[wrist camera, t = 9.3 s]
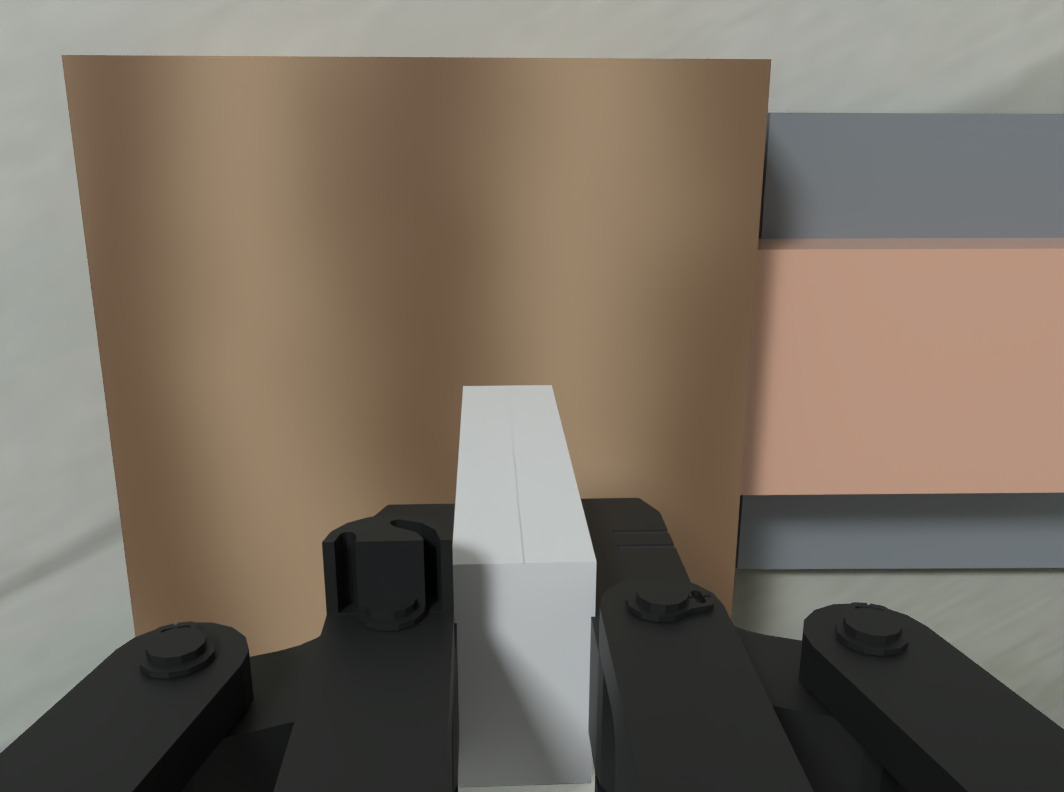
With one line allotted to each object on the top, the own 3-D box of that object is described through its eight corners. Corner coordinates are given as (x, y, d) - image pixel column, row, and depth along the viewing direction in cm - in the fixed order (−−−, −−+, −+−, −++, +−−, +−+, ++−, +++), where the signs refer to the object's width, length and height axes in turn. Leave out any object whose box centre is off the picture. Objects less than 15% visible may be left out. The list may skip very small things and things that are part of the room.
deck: (194, 598, 26) (140, 679, 23) (138, 65, 22) (61, 55, 19) (696, 595, 27) (727, 675, 23) (727, 69, 23) (771, 59, 19)
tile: (713, 466, 25) (729, 495, 23) (725, 238, 24) (744, 249, 22) (1048, 464, 25) (1092, 492, 23) (1085, 237, 24) (1135, 248, 22)
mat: (734, 563, 26) (737, 569, 26) (765, 112, 23) (770, 112, 23) (1229, 560, 27) (1240, 567, 26) (1333, 115, 23) (1346, 115, 23)
